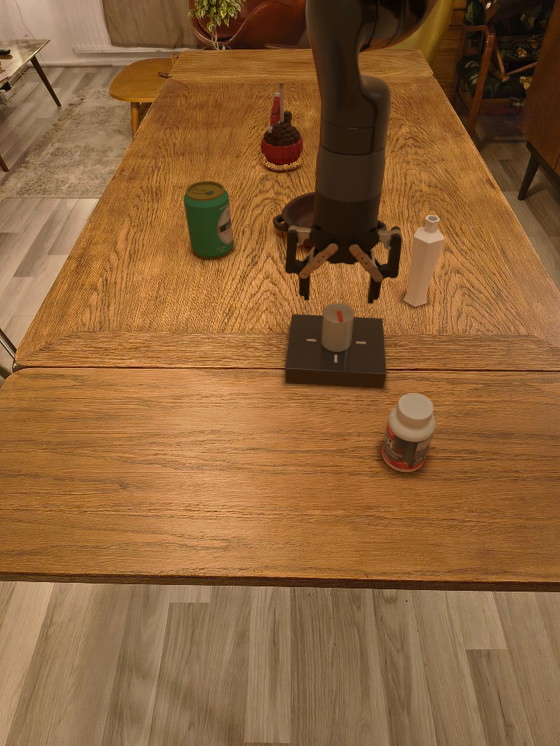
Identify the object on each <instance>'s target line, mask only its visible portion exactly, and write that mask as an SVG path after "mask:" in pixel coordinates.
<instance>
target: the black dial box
mask: <svg viewBox="0 0 560 746" xmlns="http://www.w3.org/2000/svg"><path fill="white" fill-rule="evenodd" d="M322 318H323V314H321V315H320V314H301V313H299V314H298V313H291V318H290V326H289V335H288V344H287V351H286V359H285V367H284V382H285V384H297V385H298V384H301V385H318V386H333V387H334V386H335V387H348V388H349V387H353V388H368V389H385V384H386V379H387V364H386V362H387V361H386V348H385V334H384V333H385V332H384V320H383V318H382V317H381V318H380V317H366V316H365V317H362V316H354V324H353V333H352V342H351V346H350V347H349V348H348V349H347V350H344V351H341V352H333V351H330V350H327V349H326V348H324V346H323V345H322V343H321V336H322Z"/></svg>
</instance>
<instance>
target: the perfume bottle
mask: <svg viewBox="0 0 560 746" xmlns="http://www.w3.org/2000/svg"><path fill="white" fill-rule="evenodd" d="M424 220H425V222H424V226H423V227H421V226H420V227H418V228H417V230H416V231H415V233H414V234H413V236H412V237H413V238H412V246H411V255H410V263H409V271H408V272H409V273H408V281H407V290H406V293H405V295H404V298H403V299H402V300H403V301H404V302H405V303H407V304H409V305H411V306H412V307H416V308H417V307H419V306H422V305H425V304H428V300H427V299H428V298H427V293H428V290H429V287H430V284H431V282H432V278H433V276H434V273H435V269H436V266H437V263H438V260H439V257H440V254H441V251H442V248H443V246H444V242H445V239H446V238H445V237H444V235H443V233H442V232H441V230H440V229H439V227H438V226H439V222H440V221H441V219H440V217H439V216H438V215H437V214H436V215H434V214H427V215H426V217H424Z"/></svg>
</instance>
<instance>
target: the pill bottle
mask: <svg viewBox="0 0 560 746" xmlns="http://www.w3.org/2000/svg"><path fill="white" fill-rule="evenodd" d="M433 414H434V404H433V402H432V400H431V399H430V398H428V397H427V396H426V395H424V394H421V393H418V392H407V393H405V394H403V395H402V396H401V397H400V398H399V399H398V401H397V405H396V406H394V407H393V408H392V409H391V411H390V412H389V415H388V418H387V424H386V428H385V432H384V433H385V434H384V437H383V438H384V439H383V442H382V446H381V456H382V458H383V461H384V462H385V464H386V465H387V466H388V467H390V468H391V469H393V470H395V471H398V472H401V473H411V472H416V471H418V470H419V469H420V468H421V467H422V466H423V465H424V463H425V460H426V459H427V458H426V457H427V455H428V451H429V448H430V445H431V442H432V439H433V436H434V432H435V431H436V419H435V416H434V415H433Z"/></svg>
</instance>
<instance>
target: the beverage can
mask: <svg viewBox="0 0 560 746" xmlns="http://www.w3.org/2000/svg"><path fill="white" fill-rule="evenodd" d="M229 196H230V195H229V193H228V190H226V189H225V185H224V184H222V183H221V182H218V181H213V180H201V181H196V182H194V183H192V184H189V185H188V186H187V187H186V189H185V193H184V195H183V198H182V199H183V204H184V210H185V218H186V224H187V230H188V236H189V241H190V247H191V250H192V252H194V254H195V255H196V256H197V257H199V258H201V259H203V260H218V259H222V258H224V257H226V256H227V255H229V254H230V253H231V251H232V248H233V246H234V239H233V238H234V237H233V228H232V217H231V207H230V197H229Z"/></svg>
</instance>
